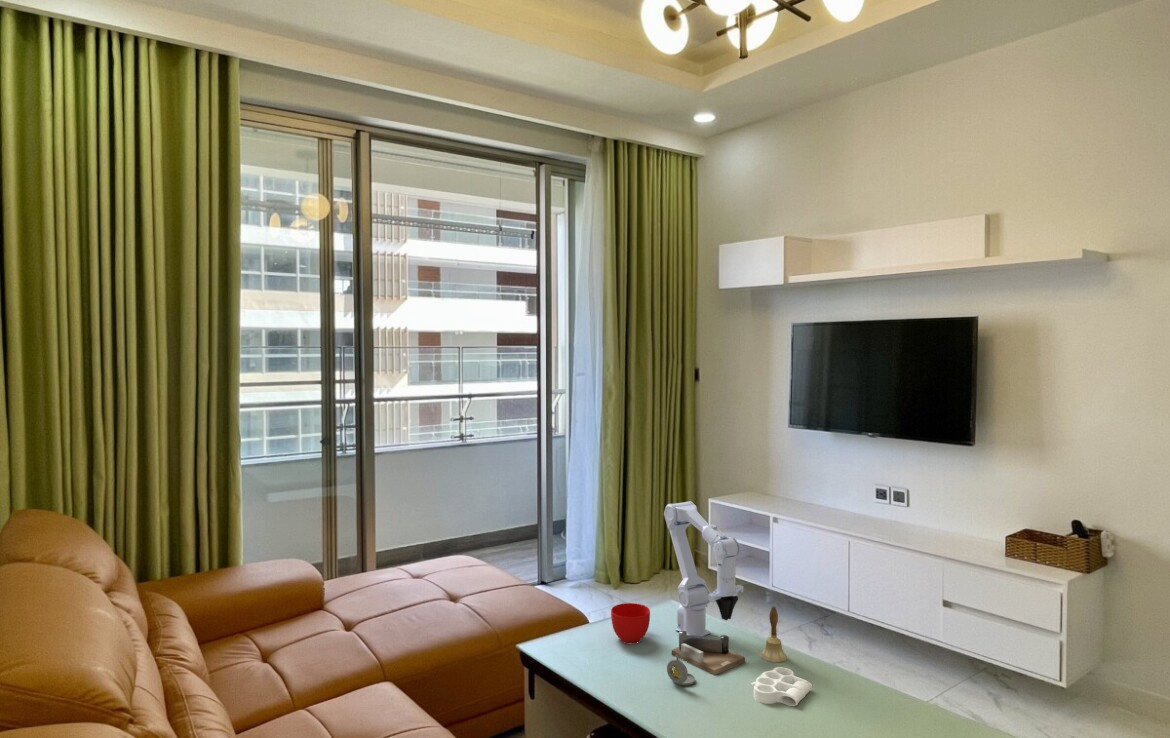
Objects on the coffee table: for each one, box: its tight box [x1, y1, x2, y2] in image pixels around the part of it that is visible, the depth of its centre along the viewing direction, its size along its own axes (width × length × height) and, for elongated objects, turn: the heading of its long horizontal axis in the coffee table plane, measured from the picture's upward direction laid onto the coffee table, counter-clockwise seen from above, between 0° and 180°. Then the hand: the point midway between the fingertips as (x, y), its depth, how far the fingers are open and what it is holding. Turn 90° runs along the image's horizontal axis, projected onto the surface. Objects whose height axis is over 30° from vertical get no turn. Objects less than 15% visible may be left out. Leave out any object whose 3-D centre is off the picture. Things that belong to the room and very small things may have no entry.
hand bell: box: [759, 605, 788, 663], centre depth 222 cm, size 8×8×16 cm
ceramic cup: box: [610, 602, 651, 644], centre depth 237 cm, size 13×17×10 cm
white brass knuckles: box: [750, 666, 813, 707], centre depth 200 cm, size 3×18×15 cm
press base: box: [671, 643, 746, 676], centre depth 221 cm, size 18×14×4 cm
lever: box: [678, 631, 730, 654], centre depth 223 cm, size 16×3×5 cm, turn 78°
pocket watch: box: [666, 652, 696, 686], centre depth 206 cm, size 8×8×10 cm
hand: (726, 618), depth 226 cm, fingers closed
